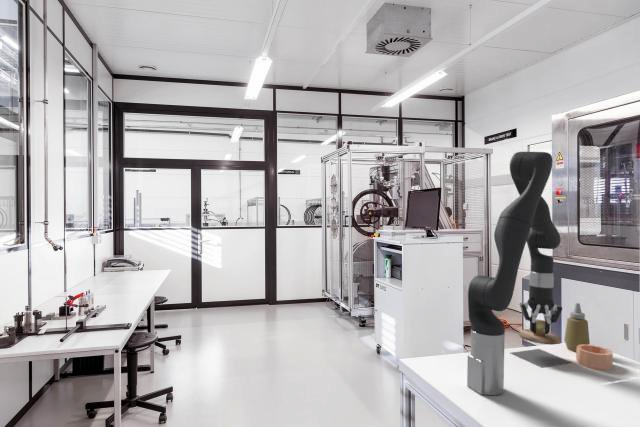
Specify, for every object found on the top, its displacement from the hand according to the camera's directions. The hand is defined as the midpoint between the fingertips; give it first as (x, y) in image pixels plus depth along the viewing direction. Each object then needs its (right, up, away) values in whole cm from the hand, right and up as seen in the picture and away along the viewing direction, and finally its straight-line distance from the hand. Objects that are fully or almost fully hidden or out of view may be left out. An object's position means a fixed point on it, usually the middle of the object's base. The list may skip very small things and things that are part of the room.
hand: (539, 332), depth 143 cm
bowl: (+16, -10, -5) cm, 19 cm away
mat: (0, -9, 0) cm, 9 cm away
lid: (0, -2, 0) cm, 2 cm away
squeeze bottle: (+19, -10, +9) cm, 23 cm away
